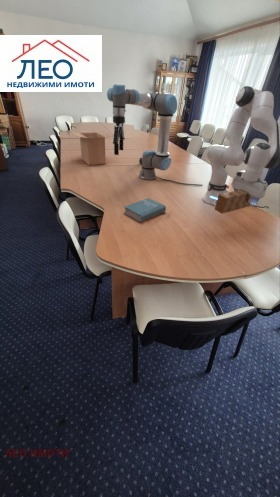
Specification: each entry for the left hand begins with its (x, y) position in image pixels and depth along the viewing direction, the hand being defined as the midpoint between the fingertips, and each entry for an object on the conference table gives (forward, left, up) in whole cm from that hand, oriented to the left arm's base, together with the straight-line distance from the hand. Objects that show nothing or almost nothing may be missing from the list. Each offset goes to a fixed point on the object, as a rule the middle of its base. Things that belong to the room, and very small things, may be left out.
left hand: (118, 152), depth 148 cm
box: (+25, -92, -31) cm, 100 cm away
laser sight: (-35, -85, -31) cm, 97 cm away
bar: (-64, +48, -17) cm, 82 cm away
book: (-17, +27, -31) cm, 45 cm away
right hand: (-72, +44, -13) cm, 85 cm away
